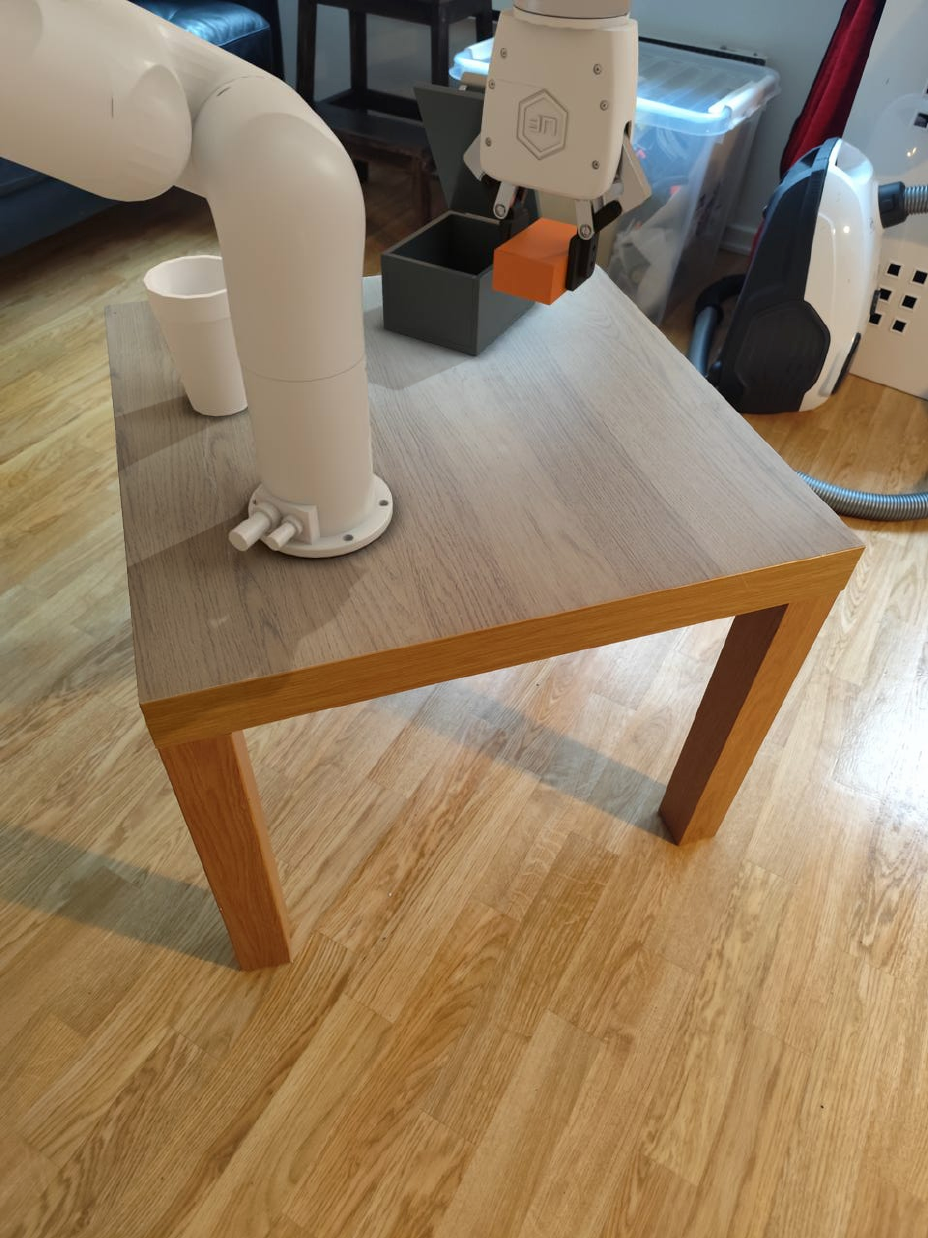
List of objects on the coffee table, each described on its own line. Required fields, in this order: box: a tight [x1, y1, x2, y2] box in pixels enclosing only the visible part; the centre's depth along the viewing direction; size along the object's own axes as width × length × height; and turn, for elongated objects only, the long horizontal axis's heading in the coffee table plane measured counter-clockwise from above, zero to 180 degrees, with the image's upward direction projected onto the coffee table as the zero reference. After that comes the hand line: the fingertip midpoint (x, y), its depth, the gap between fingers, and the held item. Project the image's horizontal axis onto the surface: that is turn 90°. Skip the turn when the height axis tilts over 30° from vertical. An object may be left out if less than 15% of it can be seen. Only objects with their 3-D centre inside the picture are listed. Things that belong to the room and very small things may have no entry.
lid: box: [412, 70, 543, 227], centre depth 91 cm, size 16×13×5 cm
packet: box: [492, 217, 577, 306], centre depth 64 cm, size 8×5×3 cm, turn 150°
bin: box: [380, 210, 536, 357], centre depth 97 cm, size 16×13×9 cm
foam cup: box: [142, 254, 248, 417], centre depth 81 cm, size 10×9×13 cm
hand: (544, 273), depth 65 cm, fingers closed on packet, 5 cm apart
